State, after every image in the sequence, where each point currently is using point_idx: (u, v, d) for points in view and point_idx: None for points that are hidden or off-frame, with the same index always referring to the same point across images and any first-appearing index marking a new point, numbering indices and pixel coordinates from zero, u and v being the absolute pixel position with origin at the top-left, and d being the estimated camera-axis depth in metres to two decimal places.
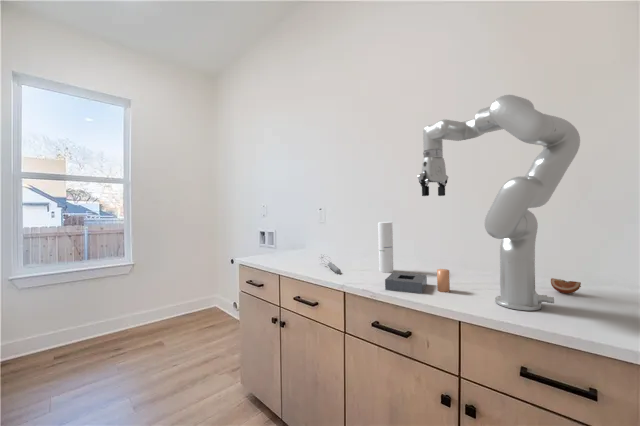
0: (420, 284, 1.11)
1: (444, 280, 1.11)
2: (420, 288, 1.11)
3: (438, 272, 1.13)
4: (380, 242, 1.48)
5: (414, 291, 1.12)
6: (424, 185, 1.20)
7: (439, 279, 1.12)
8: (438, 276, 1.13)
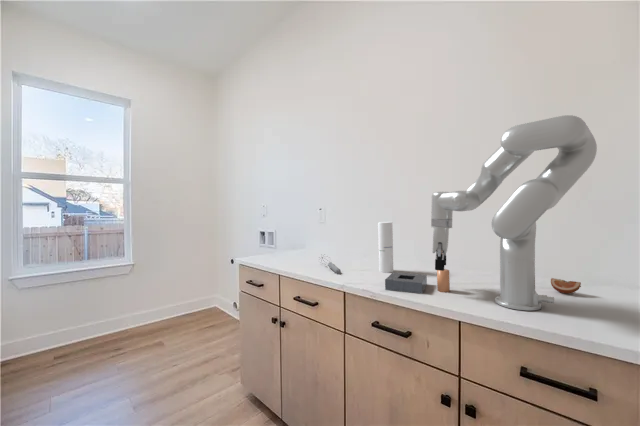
0: (420, 284, 1.11)
1: (444, 280, 1.11)
2: (420, 288, 1.11)
3: (438, 272, 1.13)
4: (380, 242, 1.48)
5: (414, 291, 1.12)
6: None
7: (439, 279, 1.12)
8: (438, 276, 1.13)
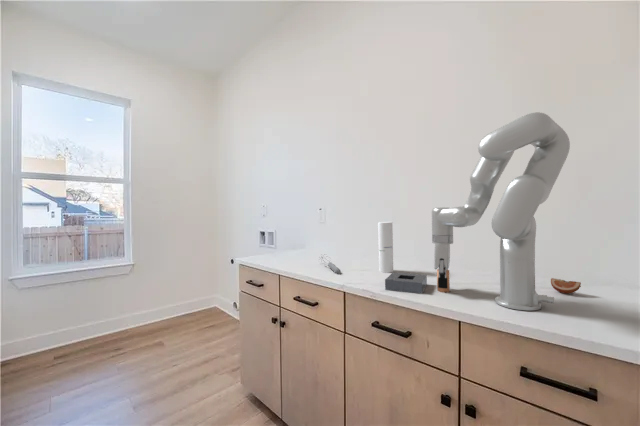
0: (420, 284, 1.11)
1: None
2: (420, 288, 1.11)
3: (438, 272, 1.13)
4: (380, 242, 1.48)
5: (414, 291, 1.12)
6: None
7: None
8: (438, 276, 1.13)
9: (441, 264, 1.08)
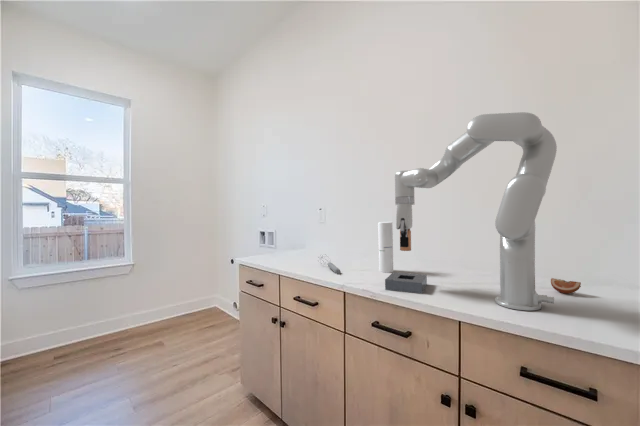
0: (420, 284, 1.11)
1: None
2: (420, 288, 1.11)
3: None
4: (380, 242, 1.48)
5: (414, 291, 1.12)
6: None
7: None
8: None
9: (402, 223, 1.15)
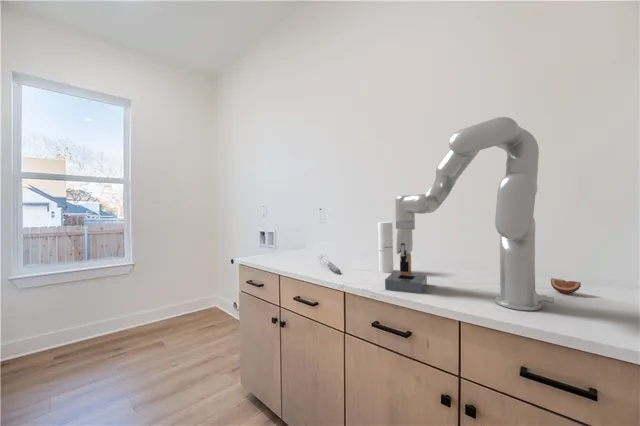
0: (420, 284, 1.11)
1: None
2: (420, 288, 1.11)
3: None
4: (380, 242, 1.48)
5: (414, 291, 1.12)
6: None
7: None
8: None
9: (402, 248, 1.15)
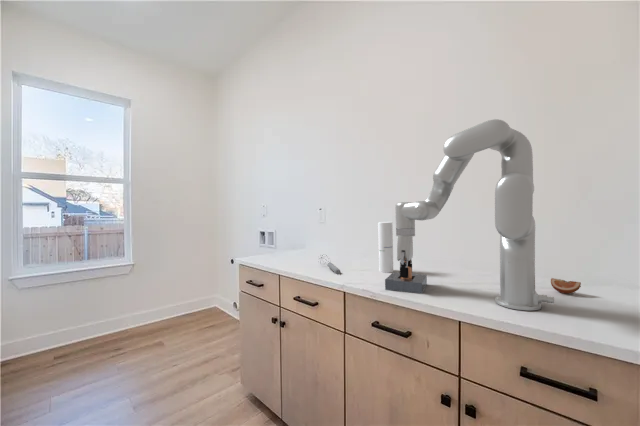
0: (420, 284, 1.11)
1: None
2: (420, 288, 1.11)
3: None
4: (380, 242, 1.48)
5: (414, 291, 1.12)
6: None
7: None
8: None
9: (402, 253, 1.14)
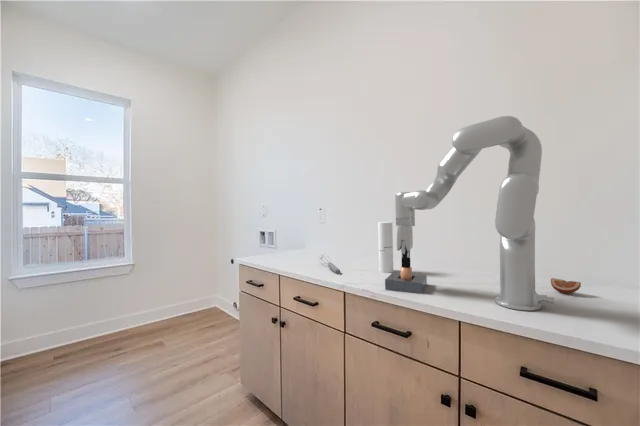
0: (420, 284, 1.11)
1: (406, 277, 1.18)
2: (420, 288, 1.11)
3: (401, 269, 1.19)
4: (380, 242, 1.48)
5: (414, 291, 1.12)
6: None
7: (402, 276, 1.19)
8: (401, 273, 1.19)
9: (403, 246, 1.15)
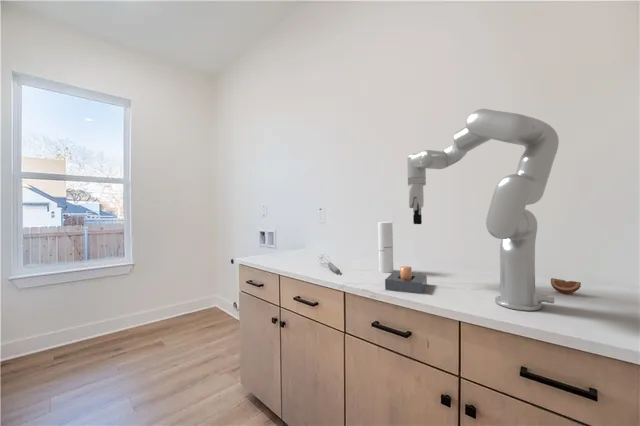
0: (420, 284, 1.11)
1: (406, 277, 1.18)
2: (420, 288, 1.11)
3: (401, 269, 1.19)
4: (380, 242, 1.48)
5: (414, 291, 1.12)
6: None
7: (402, 276, 1.19)
8: (401, 273, 1.19)
9: (415, 203, 1.24)
